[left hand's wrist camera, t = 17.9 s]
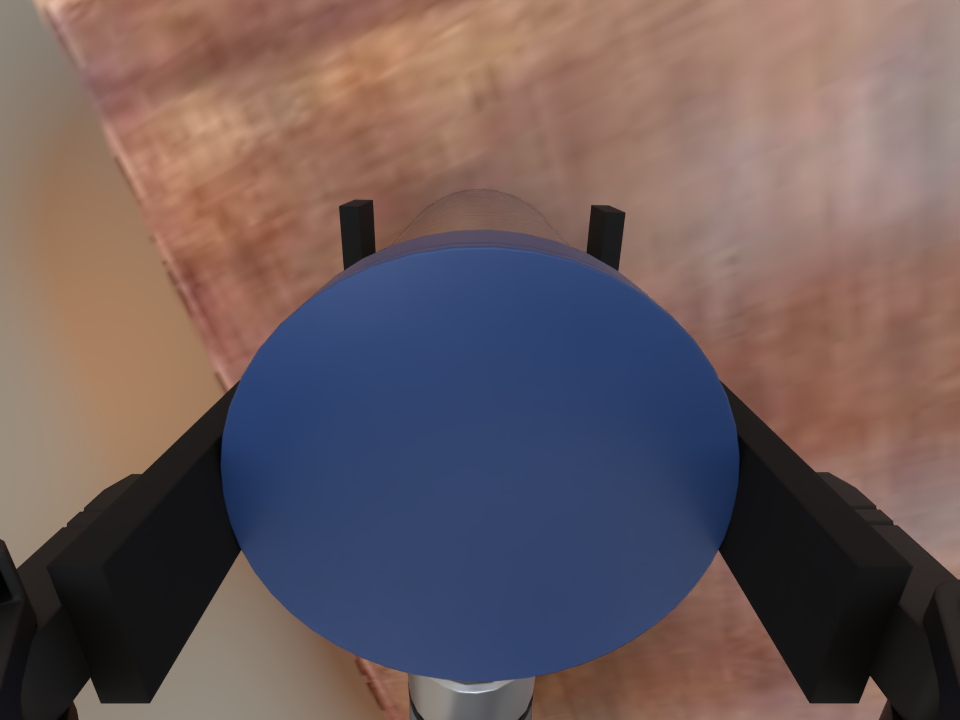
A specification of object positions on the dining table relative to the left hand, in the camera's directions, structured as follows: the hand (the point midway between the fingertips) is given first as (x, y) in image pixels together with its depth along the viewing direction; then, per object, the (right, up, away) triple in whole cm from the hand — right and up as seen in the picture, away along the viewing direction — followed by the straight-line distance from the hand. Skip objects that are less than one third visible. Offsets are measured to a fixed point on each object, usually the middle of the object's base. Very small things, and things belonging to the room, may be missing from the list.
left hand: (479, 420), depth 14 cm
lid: (0, -1, -3) cm, 3 cm away
